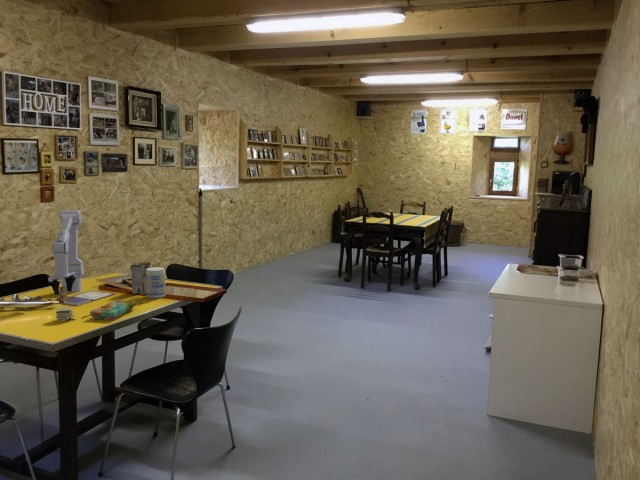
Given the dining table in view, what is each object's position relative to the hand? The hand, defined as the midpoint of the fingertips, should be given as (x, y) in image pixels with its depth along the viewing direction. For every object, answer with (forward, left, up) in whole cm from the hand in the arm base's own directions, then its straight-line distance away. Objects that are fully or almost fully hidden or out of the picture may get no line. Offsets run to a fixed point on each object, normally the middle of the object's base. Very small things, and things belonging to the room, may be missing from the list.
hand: (63, 293), depth 268 cm
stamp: (0, 0, -4) cm, 4 cm away
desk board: (+5, +9, -5) cm, 11 cm away
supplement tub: (+33, +29, -5) cm, 44 cm away
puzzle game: (+37, -5, -6) cm, 38 cm away
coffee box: (+22, +31, -5) cm, 38 cm away
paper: (+5, +14, -4) cm, 15 cm away
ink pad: (+9, 0, -4) cm, 10 cm away
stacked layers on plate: (+24, -21, -6) cm, 32 cm away
